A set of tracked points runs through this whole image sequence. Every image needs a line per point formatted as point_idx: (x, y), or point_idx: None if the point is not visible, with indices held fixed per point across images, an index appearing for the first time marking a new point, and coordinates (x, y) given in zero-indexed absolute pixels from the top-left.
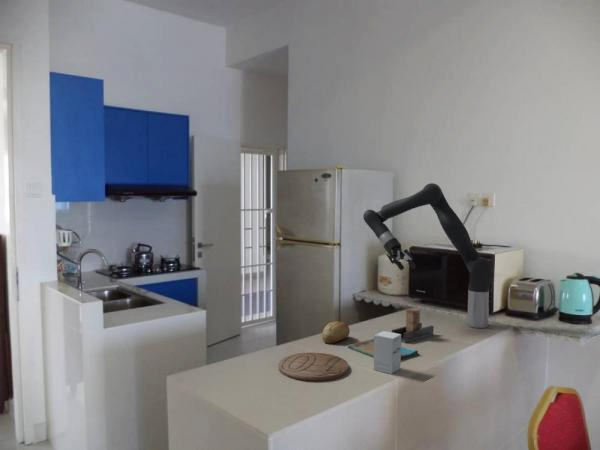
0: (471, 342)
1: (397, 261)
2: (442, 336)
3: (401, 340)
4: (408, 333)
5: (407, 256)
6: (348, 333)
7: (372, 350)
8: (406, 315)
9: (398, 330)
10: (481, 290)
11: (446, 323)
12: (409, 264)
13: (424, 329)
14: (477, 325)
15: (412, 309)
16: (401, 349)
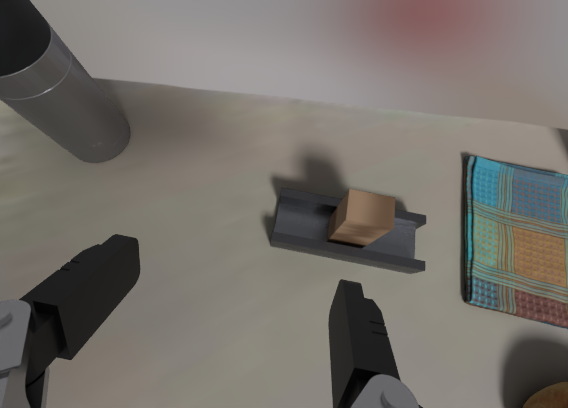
0: (281, 104)
1: (405, 405)
2: (278, 173)
3: (413, 235)
4: (410, 213)
5: (8, 383)
6: (563, 382)
7: (552, 252)
8: (385, 233)
9: (399, 257)
10: (41, 16)
11: (120, 217)
12: (93, 326)
13: (329, 198)
14: (126, 125)
15: (364, 214)
16: (484, 196)
